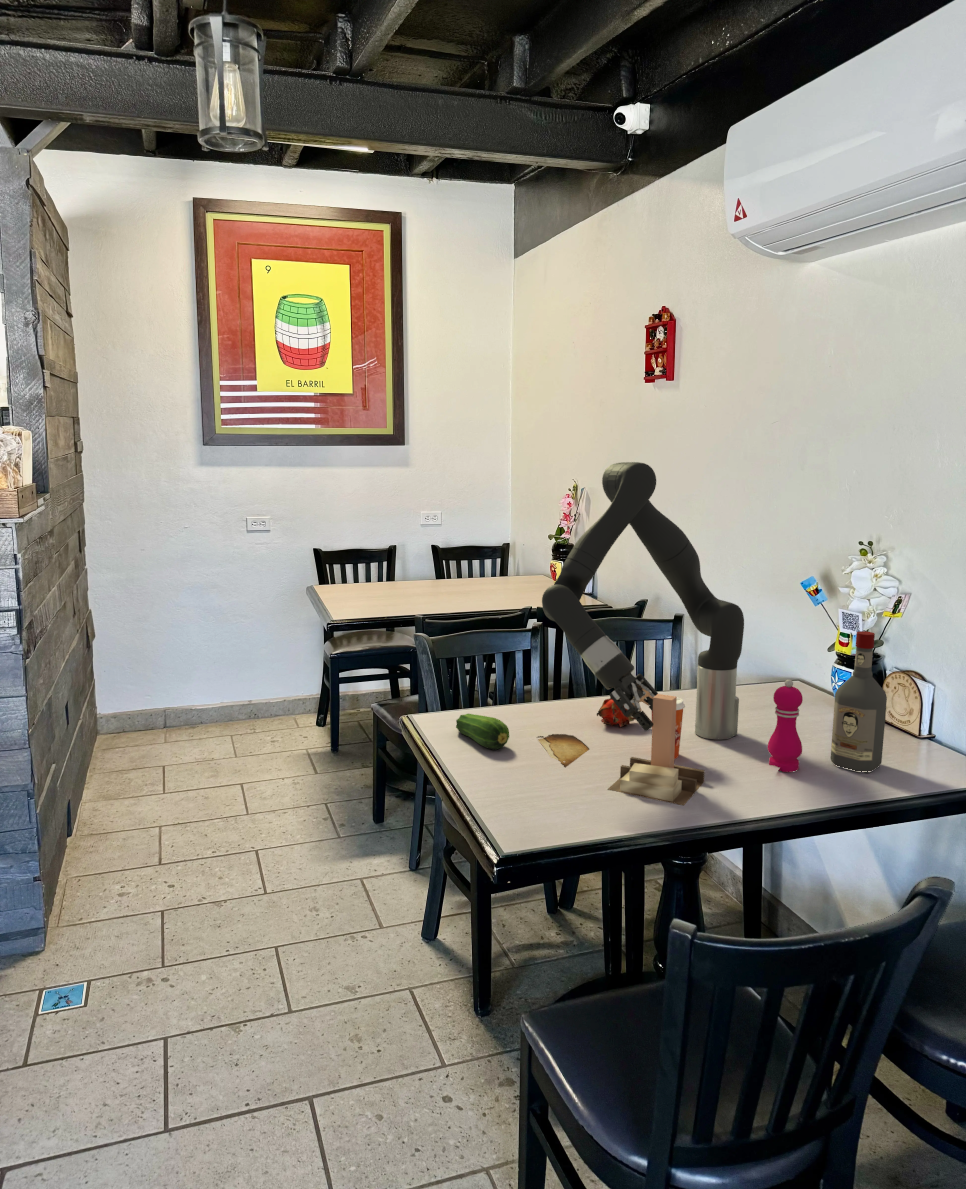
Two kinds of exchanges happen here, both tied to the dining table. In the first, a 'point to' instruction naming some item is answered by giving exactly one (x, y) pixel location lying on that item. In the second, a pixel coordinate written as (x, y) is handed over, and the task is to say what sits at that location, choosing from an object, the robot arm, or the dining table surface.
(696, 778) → the walnut rack
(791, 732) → the pepper mill
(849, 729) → the liquor
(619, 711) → the dragon fruit
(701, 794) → the dining table surface
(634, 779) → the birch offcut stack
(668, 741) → the terracotta block
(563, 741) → the parchment
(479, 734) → the vegetable
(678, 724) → the paper cup
